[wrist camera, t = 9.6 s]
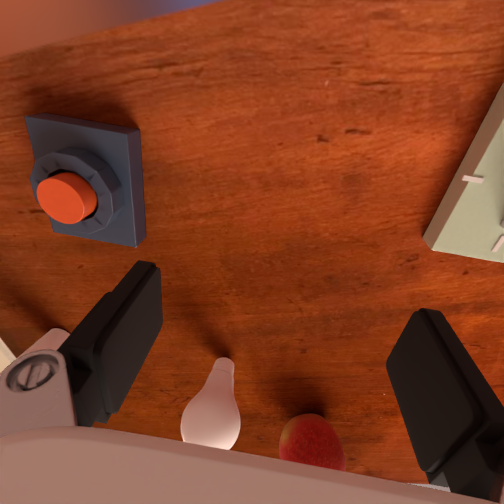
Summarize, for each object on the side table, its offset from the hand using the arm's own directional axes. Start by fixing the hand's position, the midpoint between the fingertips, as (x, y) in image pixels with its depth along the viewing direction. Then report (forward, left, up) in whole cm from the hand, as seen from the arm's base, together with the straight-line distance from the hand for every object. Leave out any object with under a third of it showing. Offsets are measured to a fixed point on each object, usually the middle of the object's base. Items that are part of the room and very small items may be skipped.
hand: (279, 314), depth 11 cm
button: (+3, -16, -12) cm, 21 cm away
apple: (+33, +10, -16) cm, 38 cm away
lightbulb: (+24, -3, -16) cm, 29 cm away
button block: (+3, -16, -16) cm, 23 cm away
